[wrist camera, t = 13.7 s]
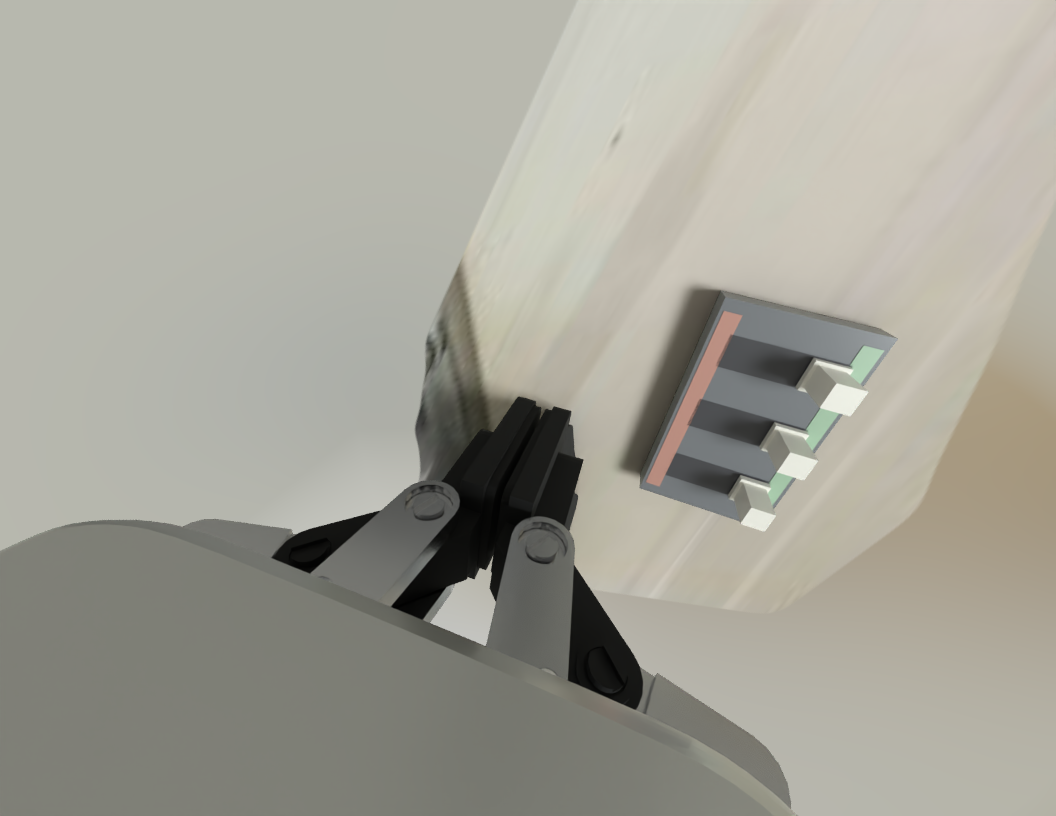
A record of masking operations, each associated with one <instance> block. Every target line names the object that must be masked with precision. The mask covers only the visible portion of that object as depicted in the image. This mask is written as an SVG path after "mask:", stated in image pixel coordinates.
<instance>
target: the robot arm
mask: <svg viewBox="0 0 1056 816" xmlns="http://www.w3.org/2000/svg"><path fill="white" fill-rule="evenodd" d="M540 413H541V407H537V406H536V401H533V400H530V399H526V398H523V397H517V399H516V400H515V402H514V403H513V405H512V406H511V408H510V409H509V410H508V412H507V413H506V415H505V416H504V418H503V419H502V421H501V422H500V424H499V425H498V427H497V428H496V429H495V431H494V432H491V431H488V430H484V429H482V430H480V431H479V432H478V433H477V435H476V436H475V437H474V439H473V440H472V441H471V443H470V444H469V445H468V447H467V448H466V450H465V451H464V452H463V454H462V455H461V456H460V458H459V459H458V460H457V462H456V463H455V464H454V466H453V467H452V468H451V470H450V471H449V472H448V474H447V475H446V476H445V478H444V479H443V480H442V482H441V481H433V480H428V481H421V482H418V483H415V484H413V485H411V486H410V487H408V488H407V489H405V490H404V491H403V492H402V493H400V494H399V495H398V496H397V497H396V498H395V499H394V500H393V501H391V502H390V503H389V504H388V505H387V506H386V507H385V508H384V509H382V510H381V511H377V512H373V513H369V514H365V515H361V516H358V517H354V518H351V519H346V520H342V521H339V522H335V523H331V524H327V525H324V526H319V527H316V528H312V529H308V530H306V531H303V532H300V533H298V534H293V533H292V530H291V529H285V528H277V527H270V526H262V525H255V524H248V523H241V522H234V521H226V520H219V519H204V520H200V521H196V522H192V523H190V524H188V525H186V526H183V527H181V526H177V525H172V524H167V523H159V522H152V521H142V520H100V521H89V522H81V523H74V524H69V525H65V526H61V527H57V528H54V529H51V530H48V531H45V532H43V533H40V534H37V535H35V536H33V537H31V538H28V539H26V540H23V541H21V542H19V543H17V544H14V545H12V546H10V547H8V548H6V549H4V550H2V551H0V816H797V815H796V814H795V813H794V812H793V811H792V810H791V801H790V795H789V789H788V784H787V781H786V779H785V777H784V775H783V772H782V770H781V768H780V766H779V764H778V762H777V761H776V760H775V758H774V757H773V756H772V754H771V753H770V751H769V750H768V749H767V748H766V747H765V746H764V745H763V744H762V743H760V742H759V741H758V740H757V739H756V738H755V737H754V736H752V735H751V734H749V733H748V732H746V731H745V730H743V729H742V728H740V727H738V726H737V725H736V724H734V723H733V722H731V721H729V720H728V719H726V718H725V717H723V716H722V715H720V714H719V713H717V712H716V711H714V710H713V709H711V708H710V707H708V706H707V705H705V704H704V703H702V702H701V701H699V700H698V699H696V698H694V697H693V696H691V695H690V694H688V693H687V692H685V691H684V690H682V689H681V688H679V687H678V686H676V685H674V684H673V683H672V682H670V681H669V680H667V679H666V678H664V677H663V676H661V675H659V674H658V673H657V674H656V676H655V677H654V676H652V675H651V674H649V673H648V672H646V671H645V670H643V669H642V668H640V666H639V664H638V662H637V660H636V659H635V657H634V655H633V653H632V652H631V650H630V648H629V647H628V645H627V644H626V642H625V641H624V639H623V638H622V637H621V635H620V634H619V632H618V630H617V629H616V627H615V626H614V624H613V623H612V621H611V620H610V618H609V617H608V615H607V614H606V612H605V611H604V609H603V608H602V606H601V605H600V603H599V602H598V600H597V599H596V597H595V596H594V594H593V593H592V591H591V590H590V588H589V587H588V585H587V584H586V582H585V581H584V579H583V577H582V576H581V574H580V573H579V571H578V570H577V568H576V567H575V565H574V554H575V547H574V540H573V538H572V536H571V534H570V532H569V531H568V530H567V529H566V528H565V527H564V526H565V523H566V519H567V516H568V512H569V509H570V505H571V502H572V498H573V495H574V491H575V488H576V484H577V481H578V477H579V474H580V470H581V467H582V463H583V459H580V458H576V457H573V456H570V455H567V454H563V453H562V449H563V445H564V441H565V437H566V433H567V429H568V425H569V421H570V416H571V411H569V410H565V409H562V408H558V407H555V406H554V407H553V409H552V411H551V410H548V409H546V410H545V412H544V413H543V415H542V417H541V419H540ZM539 419H540V421H539ZM492 556H493V561H492V568H491V572H492V576H491V583H490V590H491V592H492V594H493V596H494V599H495V601H496V605H495V609H494V614H493V619H492V623H491V627H490V631H489V635H488V640H487V644H486V646H483V645H481V644H479V643H476V642H474V641H471V640H469V639H467V638H465V637H462V636H460V635H457V634H455V633H453V632H450V631H448V630H445V629H443V628H440V627H438V626H436V625H433V624H431V623H430V622H431V620H432V619H433V618H434V616H435V615H436V614H437V612H438V611H439V609H440V608H441V607H442V605H443V604H444V602H445V601H446V599H447V598H448V597H449V595H450V594H451V592H452V590H453V588H454V584H455V583H458V582H461V581H464V580H466V579H467V577H469V578H472V579H475V576H476V575H477V572H478V570H479V568H482V569H484V570H486V569H487V567H488V565H489V563H490V561H491V559H492Z"/></svg>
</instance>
